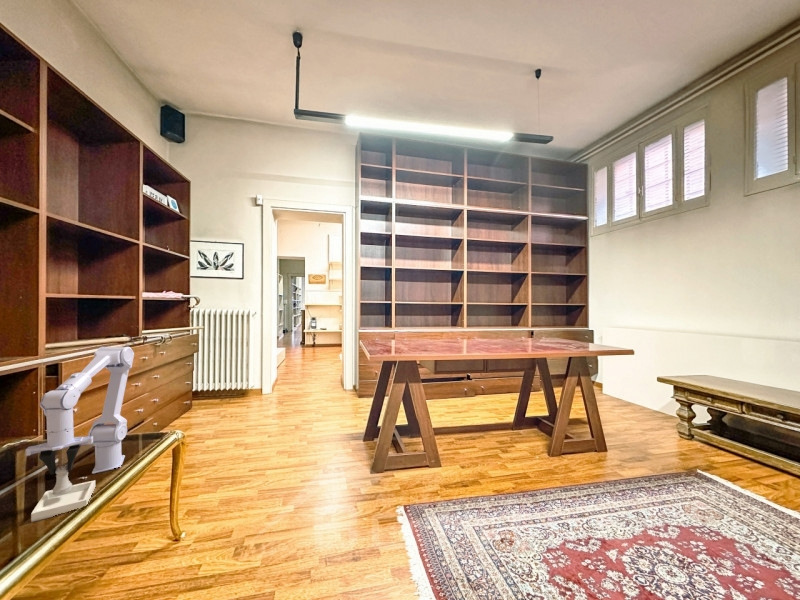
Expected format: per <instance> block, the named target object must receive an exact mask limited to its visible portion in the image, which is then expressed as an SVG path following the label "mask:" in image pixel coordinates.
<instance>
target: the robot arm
mask: <svg viewBox="0 0 800 600" xmlns="http://www.w3.org/2000/svg"><path fill="white" fill-rule="evenodd" d="M134 357H135V352H134V350H133V348H131V347H130V346H107V347H106V346H100V347H99V348H97V350H96V351H94V354H93V359H91V360H90V362H89V363H88V364H87V365H85V367H84V368H83V369H82V370H81V371H80V372H74V373H72V374H71V375H70V376H69V377H68V378H66V380H65V381H63V382H62V383H61V384H60V385H58V387H56V388H55V389H53V390H49V391H48V392H46V393H45V394H43V396H42V397H41V400H40V402H39V406H40V407H39V408H41V409H42V410H43V415H44V416H45V418H46V440H47V442H43V443H40V444H36V445H31V446H28V447H27V448H25V456H26V457H29V456H31V455H36V454H39V453H40V454H39V456H38V457H39V459H40V461H42V463H44V464H45V466H46V468H47V470H48V471H49V474H50V476H53V475H55V474H56V473H55V470H56V468H57V463H56V452H57V451H59V450H62V449H63V450H64V449H66V448H67V450H66V451H65V453H66V457H67V458H66V459H67V465H68V471H67V472H70V471H71V472H72V470H73V468H74V462H75V460H76V457H77V454H78V453H79V450H80V449H81V446H83V445H92V447H93V446H94V452H95V453H94V455H95V457H94V458H95V461H94V462H95V465H94V468H93V469H92V471H91V474H93V475H94V474H96V473H97V474H98V473H102V472H107V471H110V470H111V471H112V470H115V469H114V468H116V469H119V468H118V467H120V468H122V466H121V465H123V463H124V460H125V457H126V455H124V454H122V441H123V440H125V439H124V438H126V436H127V433H128V426H127V424H128V420H127V419H126V418H125V417H124V416H122V415H121V412H122V411H121V410H122V406H123V403H124V396H125V392H126V386H127V382H128V377H129V372H130V370H131V369H132V367H133V362H134ZM103 369H106V370H108V371H109V373H110V375H109V380H108V385H107V389H106V395H105V399H104V403H103V407H102V413H101V416H99V417H98V418H97V419H94V421H92V423H91V428H90V429H89V430H88V433H87V436H78V437H76V436H75V430H74V429H75V427H74V407H75V406H76V405H77V404H78V401H79V399H80V397H81V394H82V393H83V392H84V391H85V390H86V389H87V388H88V387H89V386H90V385H91V384H92V381H93V380H92V378H93V377H94V376H96V375H97V374H98V373H100V371H102V370H103Z"/></svg>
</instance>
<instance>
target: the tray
mask: <svg viewBox="0 0 800 600" xmlns="http://www.w3.org/2000/svg"><path fill="white" fill-rule="evenodd" d="M96 486H97V485H96V479H95V480H91V481H85V482H82V483H81V482H80V483H77V484H72V487H73V488H72V489H71V491H69V492H68V493H66V494H63V495H59V496H55V495H53V494H52V493H53V491H52V490H53V489H51V490H47V491H46V490H45V492H44V494H43V495H42V496H41V498H40V500H39V501H38V503H37V504H36V506H35V507H34V509H33V510H32V512H31V514H30V521H31V523H33V522H38V521H42V520H45V519H48V518H52V517H53V516H54V517H56V516H55V515H57V516H59V515H58V514H61V513H65V512H68V511H71V510H74V509H77V508H80V507H83V506H86V505H87V504H88V501H89V499H90V498H91V499H92V497H91V495H92V493H93V494H94V492H95V490H96V488H95V487H96ZM94 489H95V490H94ZM93 491H94V492H93ZM92 496H93V495H92ZM91 499H90V500H91ZM89 502H90V501H89ZM88 505H89V504H88ZM65 514H66V513H65ZM61 515H62V514H61Z"/></svg>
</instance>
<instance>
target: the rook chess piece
mask: <svg viewBox="0 0 800 600" xmlns="http://www.w3.org/2000/svg"><path fill="white" fill-rule="evenodd" d="M54 474H56V475H55V477H56V480H55V481H56V482H55V485H54V487H53V488H52V489H51V490H52V491H53V493H52V494H53V495H55V496H59V495H63V494H66V493H68V492H69V491H71V489H72V488H73V487H72V485H73V483H72V481H70V480H69V477H68V476H69V471H68V464H64V465H62V464H61V465H59V466H56V470H55V473H54Z"/></svg>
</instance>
